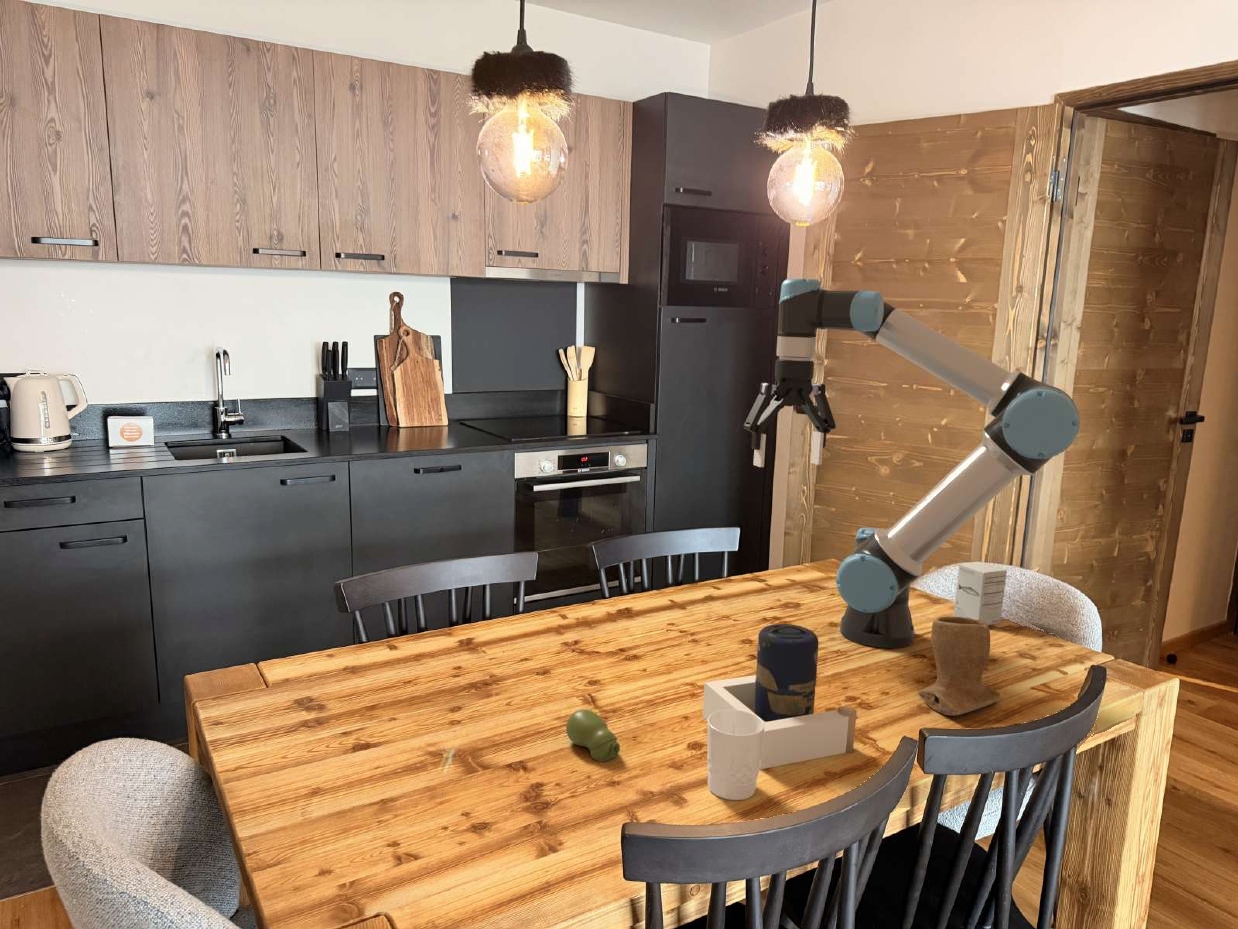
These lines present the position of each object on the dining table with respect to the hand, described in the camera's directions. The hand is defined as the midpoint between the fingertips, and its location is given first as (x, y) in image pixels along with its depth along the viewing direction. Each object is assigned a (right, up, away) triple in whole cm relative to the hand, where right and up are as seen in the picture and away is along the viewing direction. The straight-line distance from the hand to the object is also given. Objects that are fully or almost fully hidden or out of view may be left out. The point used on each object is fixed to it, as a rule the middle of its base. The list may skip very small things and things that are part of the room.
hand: (787, 465), depth 175 cm
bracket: (-8, -43, -35) cm, 56 cm away
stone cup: (+25, -42, -21) cm, 53 cm away
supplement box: (+47, -35, +22) cm, 63 cm away
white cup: (-18, -46, -52) cm, 71 cm away
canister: (-8, -43, -35) cm, 56 cm away
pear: (-38, -44, -42) cm, 72 cm away
